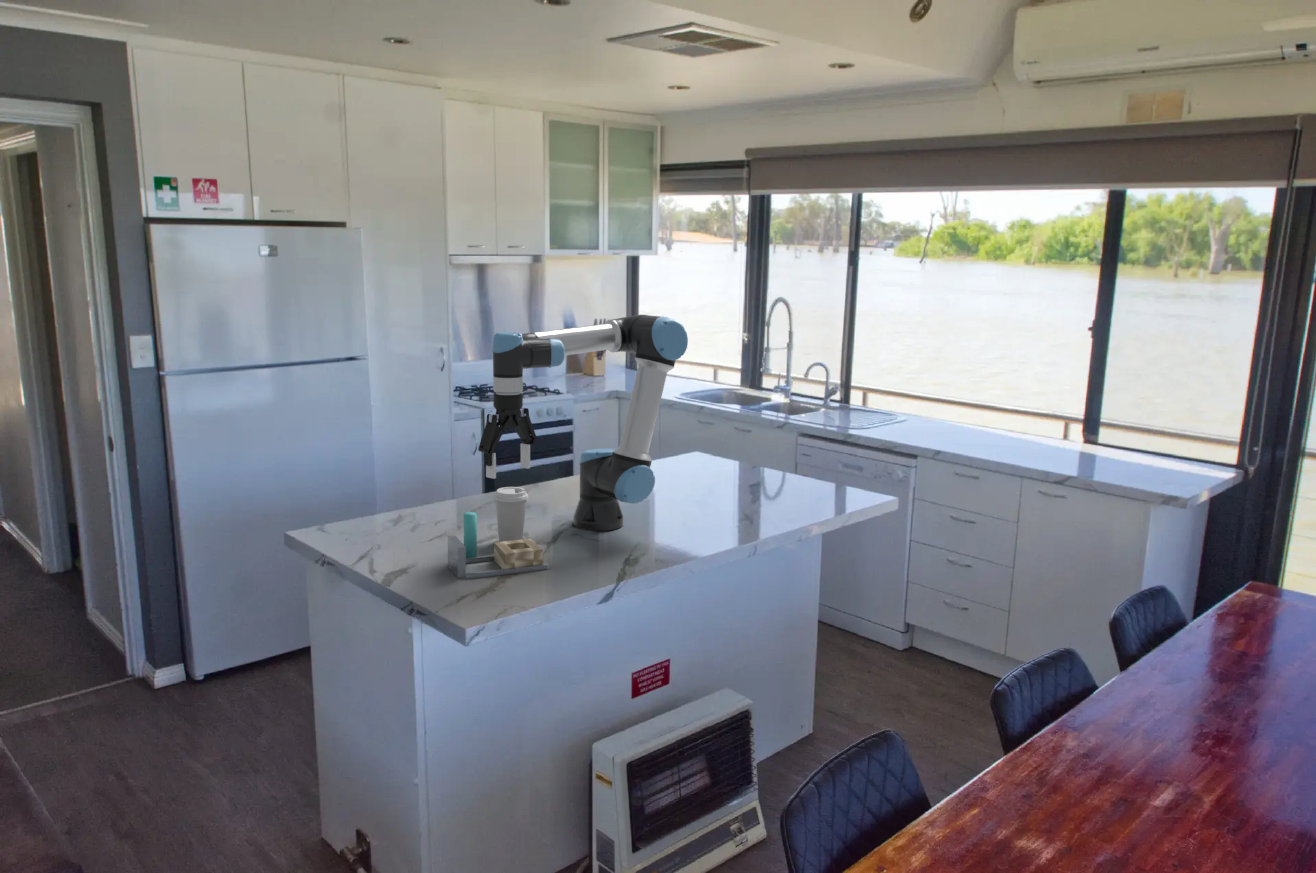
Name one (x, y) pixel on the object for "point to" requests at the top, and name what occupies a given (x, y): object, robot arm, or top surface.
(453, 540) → the backstop
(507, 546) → the block
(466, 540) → the dowel
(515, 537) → the coffee cup
